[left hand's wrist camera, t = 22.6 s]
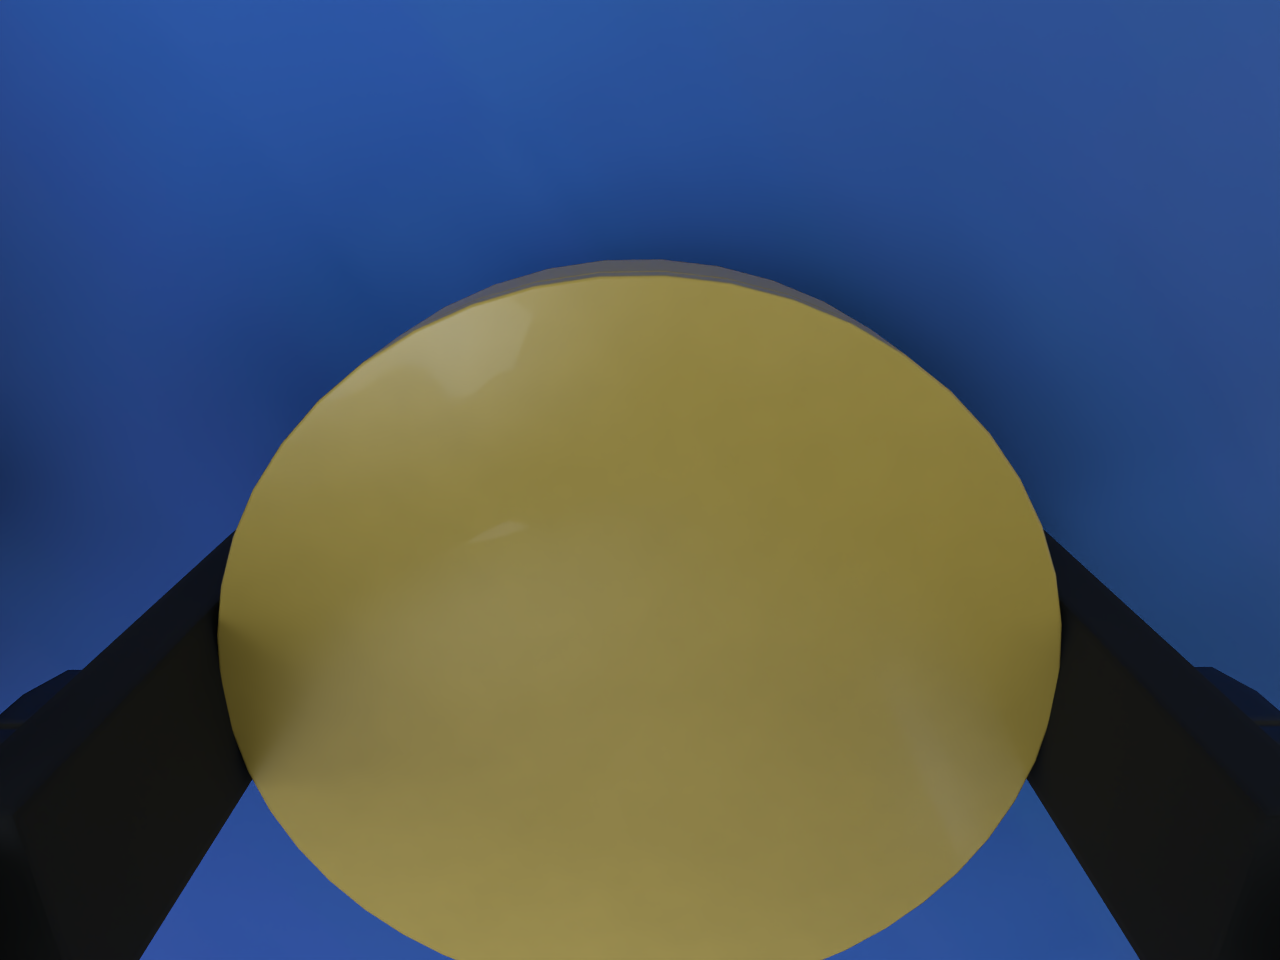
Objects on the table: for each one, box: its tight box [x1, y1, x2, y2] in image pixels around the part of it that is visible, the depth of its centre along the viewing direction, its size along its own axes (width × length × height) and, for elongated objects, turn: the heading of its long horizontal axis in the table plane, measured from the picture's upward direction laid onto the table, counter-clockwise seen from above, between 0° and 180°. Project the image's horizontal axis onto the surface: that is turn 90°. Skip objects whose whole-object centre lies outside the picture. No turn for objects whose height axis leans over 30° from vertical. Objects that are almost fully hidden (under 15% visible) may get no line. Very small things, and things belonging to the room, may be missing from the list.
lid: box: [217, 259, 1062, 960], centre depth 11 cm, size 11×11×2 cm
